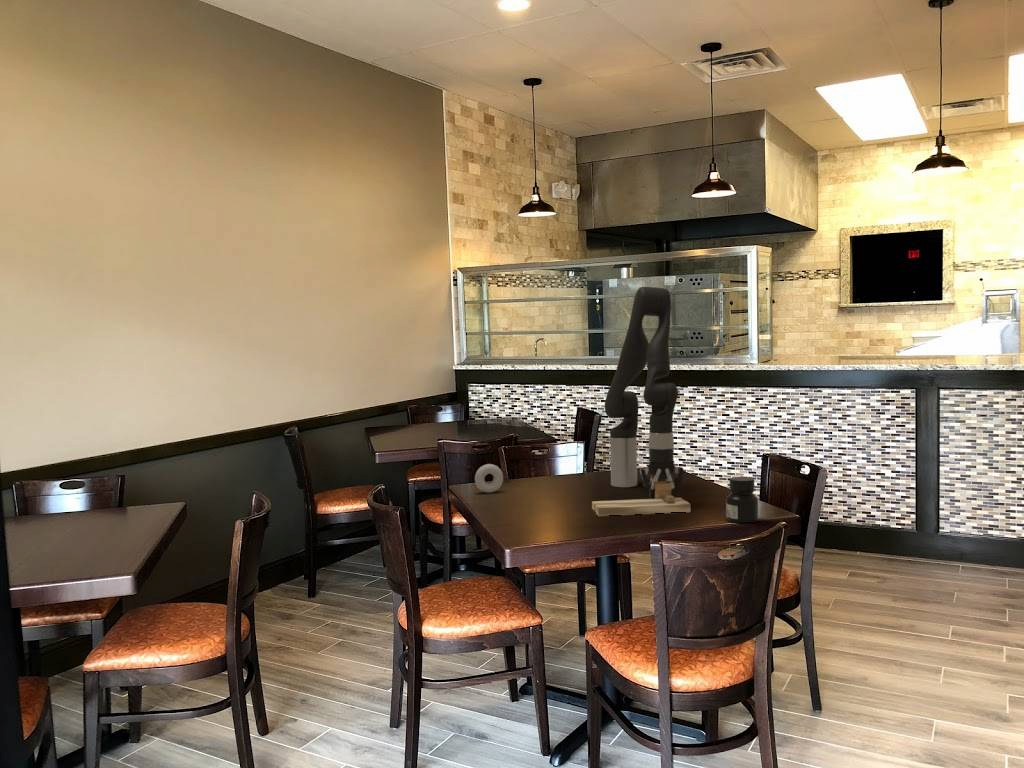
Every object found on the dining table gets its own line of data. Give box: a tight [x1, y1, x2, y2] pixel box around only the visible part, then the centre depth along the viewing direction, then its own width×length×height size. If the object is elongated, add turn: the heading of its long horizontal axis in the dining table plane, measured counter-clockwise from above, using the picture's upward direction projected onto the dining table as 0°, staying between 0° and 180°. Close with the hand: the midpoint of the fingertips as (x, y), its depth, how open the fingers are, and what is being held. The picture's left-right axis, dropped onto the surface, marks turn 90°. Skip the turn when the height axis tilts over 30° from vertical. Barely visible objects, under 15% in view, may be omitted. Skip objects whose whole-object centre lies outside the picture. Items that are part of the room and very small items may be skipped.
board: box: [591, 497, 692, 517], centre depth 260 cm, size 10×28×2 cm, turn 96°
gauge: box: [654, 480, 676, 503], centre depth 265 cm, size 14×5×7 cm, turn 6°
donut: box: [474, 463, 504, 494], centre depth 294 cm, size 10×4×10 cm, turn 105°
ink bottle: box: [725, 476, 759, 524], centre depth 245 cm, size 10×9×12 cm
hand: (661, 500), depth 269 cm, fingers closed on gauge, 5 cm apart
